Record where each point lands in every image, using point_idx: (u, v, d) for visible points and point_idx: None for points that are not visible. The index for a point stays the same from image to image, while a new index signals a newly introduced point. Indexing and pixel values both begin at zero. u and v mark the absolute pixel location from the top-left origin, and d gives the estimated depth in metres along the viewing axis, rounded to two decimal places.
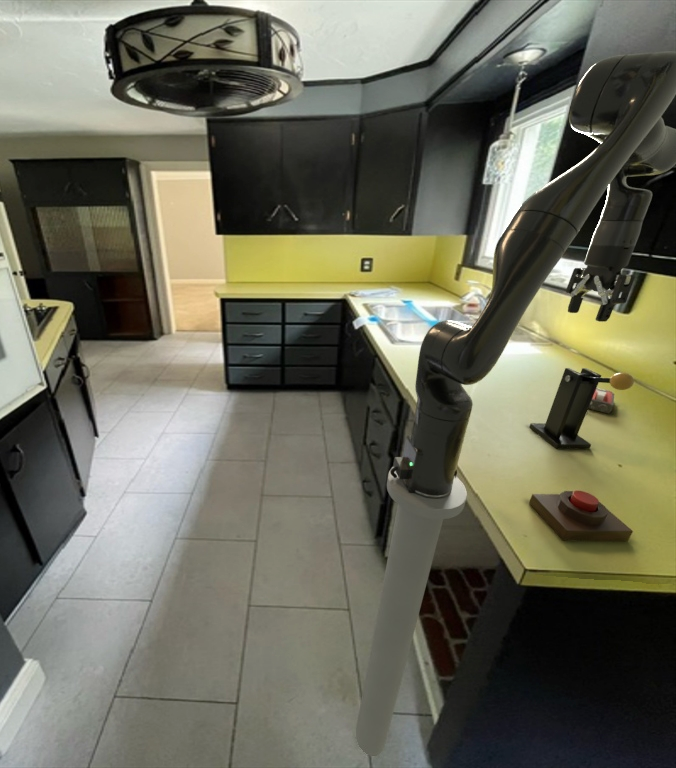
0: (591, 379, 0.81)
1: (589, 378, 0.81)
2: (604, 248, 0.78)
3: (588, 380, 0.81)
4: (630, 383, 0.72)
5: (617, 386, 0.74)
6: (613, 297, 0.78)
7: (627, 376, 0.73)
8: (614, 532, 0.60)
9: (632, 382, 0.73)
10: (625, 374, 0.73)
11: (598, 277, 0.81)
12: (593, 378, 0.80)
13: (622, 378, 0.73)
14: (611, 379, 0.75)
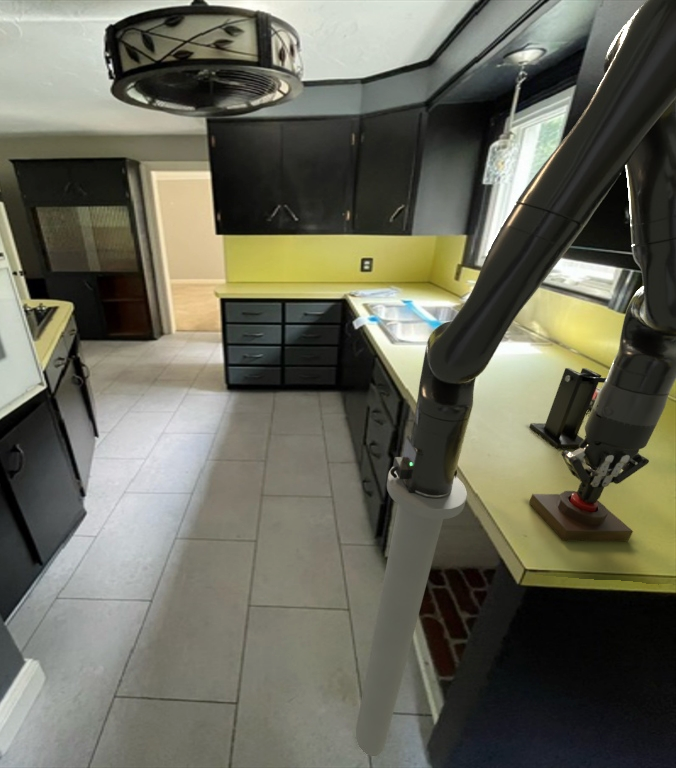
0: (591, 379, 0.81)
1: (589, 378, 0.81)
2: None
3: (588, 380, 0.81)
4: None
5: None
6: None
7: None
8: (614, 532, 0.60)
9: None
10: None
11: None
12: (593, 378, 0.80)
13: None
14: None
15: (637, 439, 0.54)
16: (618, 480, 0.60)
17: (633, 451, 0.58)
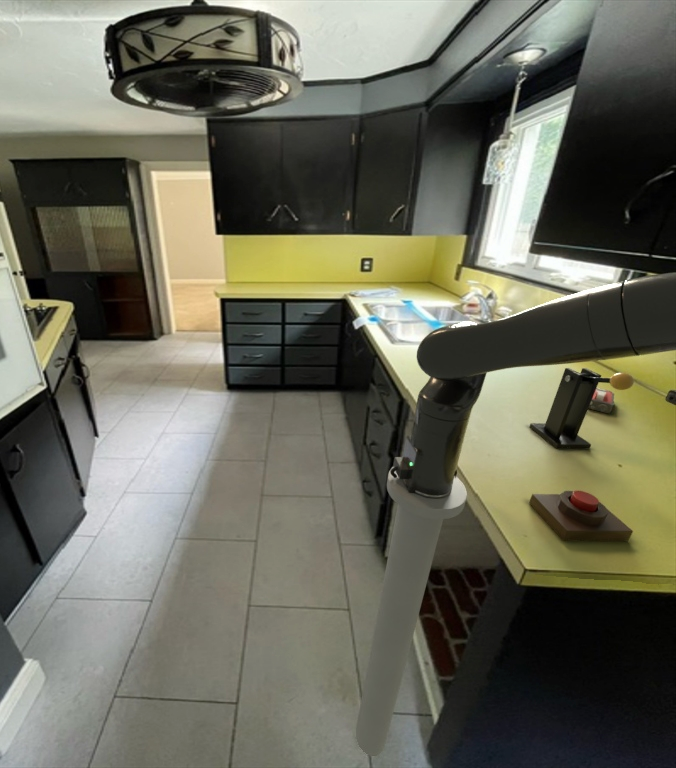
0: (591, 379, 0.81)
1: (589, 378, 0.81)
2: None
3: (588, 380, 0.81)
4: (630, 383, 0.72)
5: (617, 386, 0.74)
6: None
7: (627, 376, 0.73)
8: (614, 532, 0.60)
9: (632, 382, 0.73)
10: (625, 374, 0.73)
11: None
12: (593, 378, 0.80)
13: (622, 378, 0.73)
14: (611, 379, 0.75)
15: None
16: None
17: None
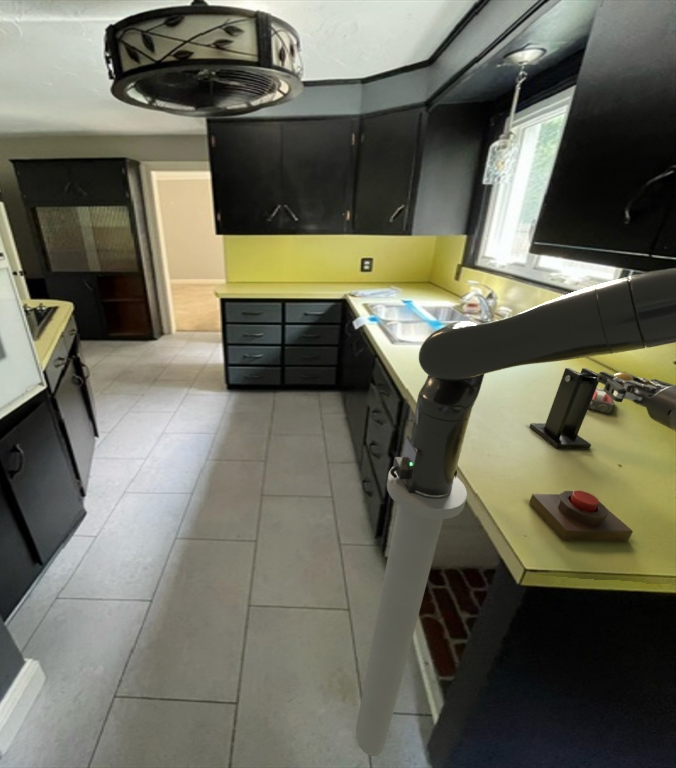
0: (591, 379, 0.81)
1: (589, 378, 0.81)
2: None
3: (588, 380, 0.81)
4: None
5: None
6: (613, 381, 0.71)
7: (627, 376, 0.73)
8: (614, 532, 0.60)
9: None
10: (625, 374, 0.73)
11: (649, 387, 0.67)
12: (593, 378, 0.80)
13: (622, 378, 0.73)
14: None
15: None
16: None
17: None
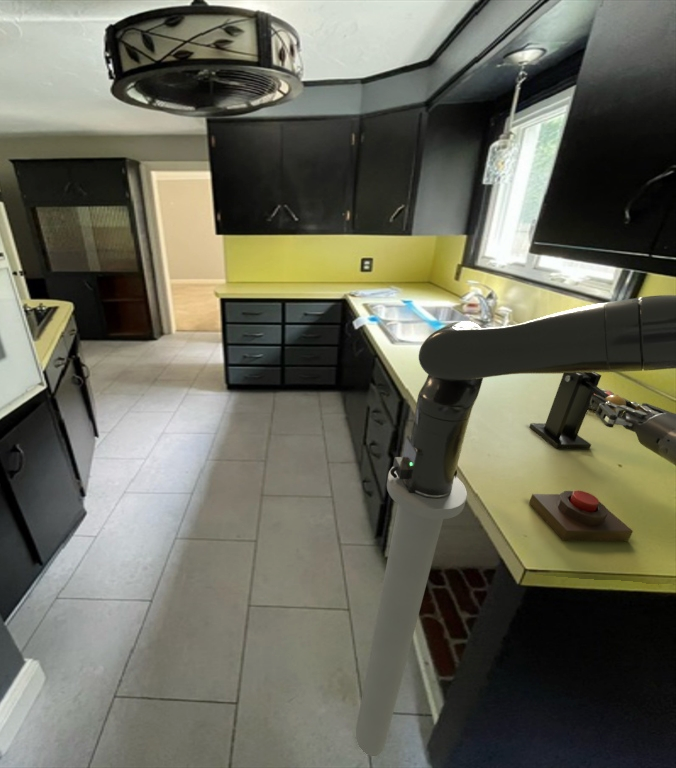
0: (589, 387, 0.81)
1: (588, 384, 0.81)
2: (675, 425, 0.62)
3: (586, 386, 0.82)
4: None
5: None
6: (605, 405, 0.73)
7: (620, 403, 0.74)
8: (614, 532, 0.60)
9: None
10: (620, 400, 0.74)
11: (640, 413, 0.69)
12: (591, 387, 0.81)
13: None
14: None
15: None
16: None
17: None
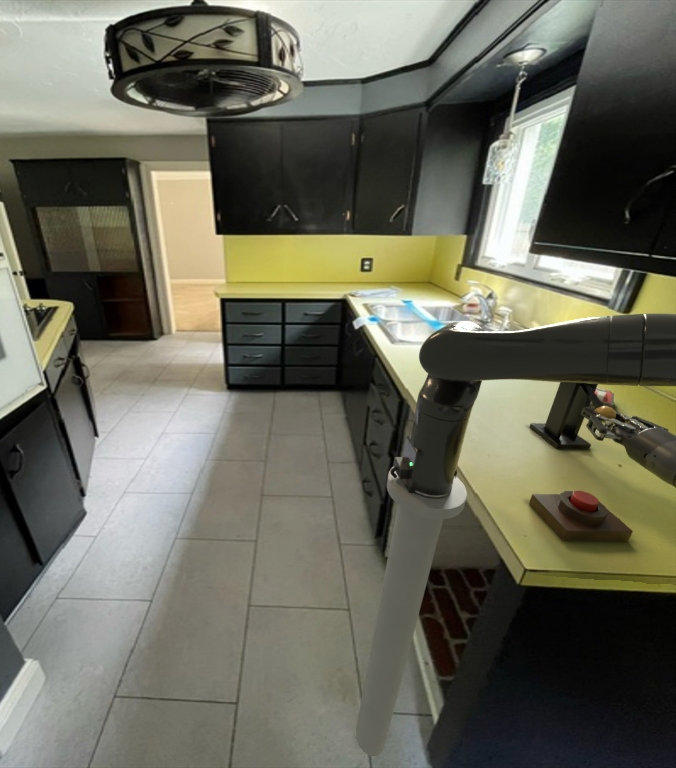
0: (586, 390, 0.82)
1: (585, 388, 0.82)
2: (661, 440, 0.65)
3: (583, 388, 0.83)
4: None
5: None
6: (595, 418, 0.75)
7: (610, 417, 0.76)
8: (614, 532, 0.60)
9: None
10: (611, 414, 0.76)
11: (629, 427, 0.71)
12: (588, 391, 0.81)
13: None
14: (596, 411, 0.78)
15: None
16: None
17: None
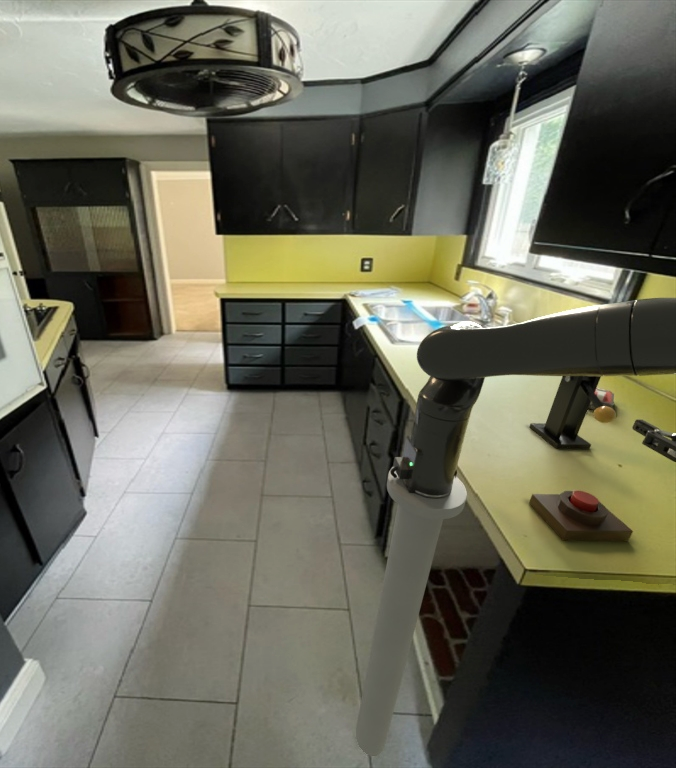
0: (586, 390, 0.82)
1: (585, 388, 0.82)
2: None
3: (583, 389, 0.83)
4: (608, 422, 0.77)
5: (596, 419, 0.78)
6: (657, 434, 0.61)
7: (610, 417, 0.76)
8: (614, 532, 0.60)
9: (611, 421, 0.77)
10: (610, 414, 0.76)
11: None
12: (588, 391, 0.81)
13: (605, 417, 0.77)
14: (596, 411, 0.78)
15: None
16: None
17: None
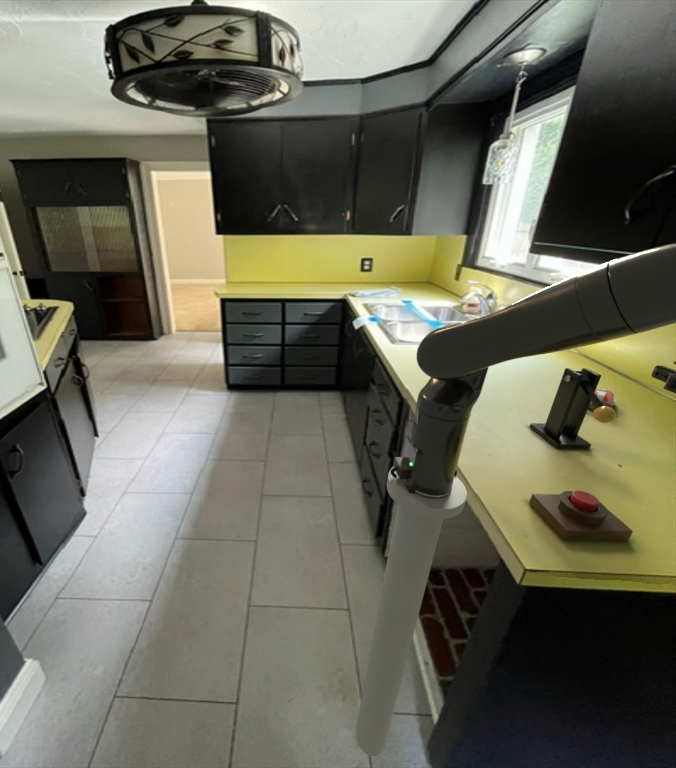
0: (586, 390, 0.82)
1: (585, 388, 0.82)
2: None
3: (583, 389, 0.83)
4: (608, 422, 0.77)
5: (596, 419, 0.78)
6: None
7: (610, 417, 0.76)
8: (614, 532, 0.60)
9: (611, 421, 0.77)
10: (610, 414, 0.76)
11: None
12: (588, 391, 0.81)
13: (605, 417, 0.77)
14: (596, 411, 0.78)
15: None
16: None
17: None
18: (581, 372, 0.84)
